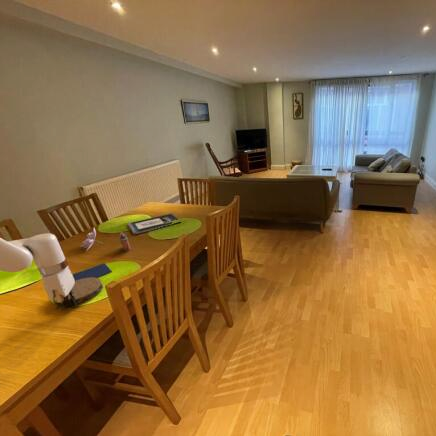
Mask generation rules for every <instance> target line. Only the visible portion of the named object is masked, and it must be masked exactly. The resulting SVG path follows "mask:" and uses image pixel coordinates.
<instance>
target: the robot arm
mask: <svg viewBox="0 0 436 436" xmlns="http://www.w3.org/2000/svg"><path fill="white" fill-rule="evenodd" d="M33 262H34V264H35V266H36V268H37V270H38V273H39V274H40V276H41V280H42V284H43V287H44V290H45V292H46V295H47V297H48V299H49V300H50V301H53V299H54V298H55V296H56V299H57V302H58V303H60V302H63V304H64V306H65V308H64V309H70V308H75V307H77V306H76V304H77V302H76V299H75V297H74V296H73V295H74V293H73V290H72V287H73V286H74V284H75V280H74V277H73V275H72V274H73V273H72V271H71V269H70V268H69V263H68V261H67V259H66V256H65V254H64V252H63V250H62V248H61V245H60V243H59V240H58V238H57V236H56V235H55V234H54V233H51V232H50V233H49V232H48V233H40V234H36V235H33V236H31V237H27V238H21V239H14V240H8V241H7V240H5V239H4V238H1V237H0V271H2V272H5V273H18V272H22V271H25V270H26V269H27V268H29V267H30V266H32V263H33Z"/></svg>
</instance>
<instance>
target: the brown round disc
mask: <svg viewBox="0 0 436 436" xmlns="http://www.w3.org/2000/svg"><path fill="white" fill-rule="evenodd" d="M103 288H104V286H103V283H102V281H101V279H100V278H99V277H98V278H94V277H91V278H83V279H79V280H76V281H75V284H74V286H73V287H72V290H73V293H74V295H73V296H74V297H75V299H76V302H77V304H76V306H75V307H77V306H79V305H83V304H85V303H87V302H89V301H91V300H93V299H94V298H96V297H98V295H99V294H100V293H102V291H103ZM52 301H53V303H54V305H55V306H56V307H57V308H61V309H66V308H65V306H64V304H63V302H60V303H58V302H57V299H56V296H55V298H54V299H53V300H52Z"/></svg>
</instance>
